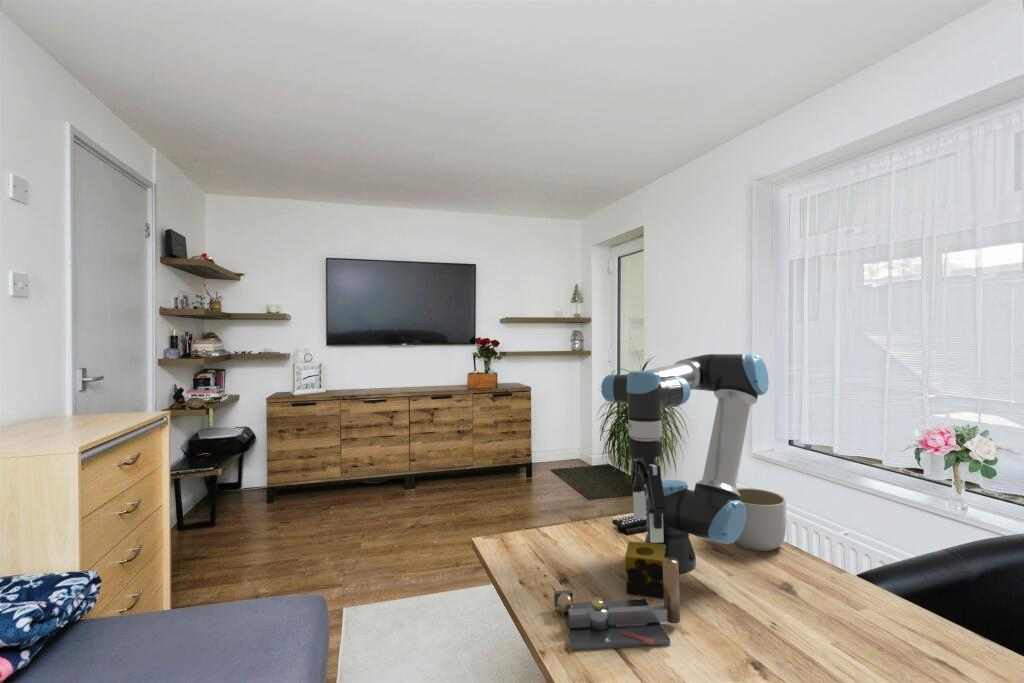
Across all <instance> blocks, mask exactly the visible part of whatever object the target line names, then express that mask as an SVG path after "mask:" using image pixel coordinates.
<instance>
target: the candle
mask: <svg viewBox="0 0 1024 683" xmlns="http://www.w3.org/2000/svg"><path fill="white" fill-rule="evenodd" d="M665 553H666V545H664V544H652V543H644V542H641V541H628V543H627V548H626V550H625V555H624V560H625V561H624V562H625V570H626V571H625V572H626V573H625V575H626V577H625V578H626V581H625V587H626V590H625V592H626V594H627V595H632V596H639V597H646V598H652V599H653V598H655V599H659V600H664V590H663V558H664V557H666V554H665Z"/></svg>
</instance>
